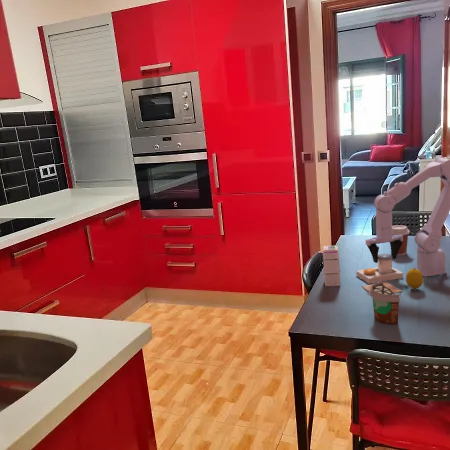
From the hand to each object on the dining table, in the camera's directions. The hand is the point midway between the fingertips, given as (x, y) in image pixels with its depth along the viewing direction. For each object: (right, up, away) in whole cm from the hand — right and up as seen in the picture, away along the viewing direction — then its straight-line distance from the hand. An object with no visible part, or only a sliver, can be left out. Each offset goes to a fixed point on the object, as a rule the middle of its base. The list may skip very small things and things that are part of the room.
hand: (384, 260), depth 173 cm
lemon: (+5, -9, -14) cm, 18 cm away
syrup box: (-20, -9, -1) cm, 22 cm away
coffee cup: (+16, +1, +26) cm, 30 cm away
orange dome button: (-6, -7, 0) cm, 9 cm away
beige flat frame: (-2, -6, +1) cm, 7 cm away
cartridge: (+1, -6, +1) cm, 6 cm away
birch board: (-5, -10, -12) cm, 16 cm away
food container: (-13, -16, -34) cm, 39 cm away
